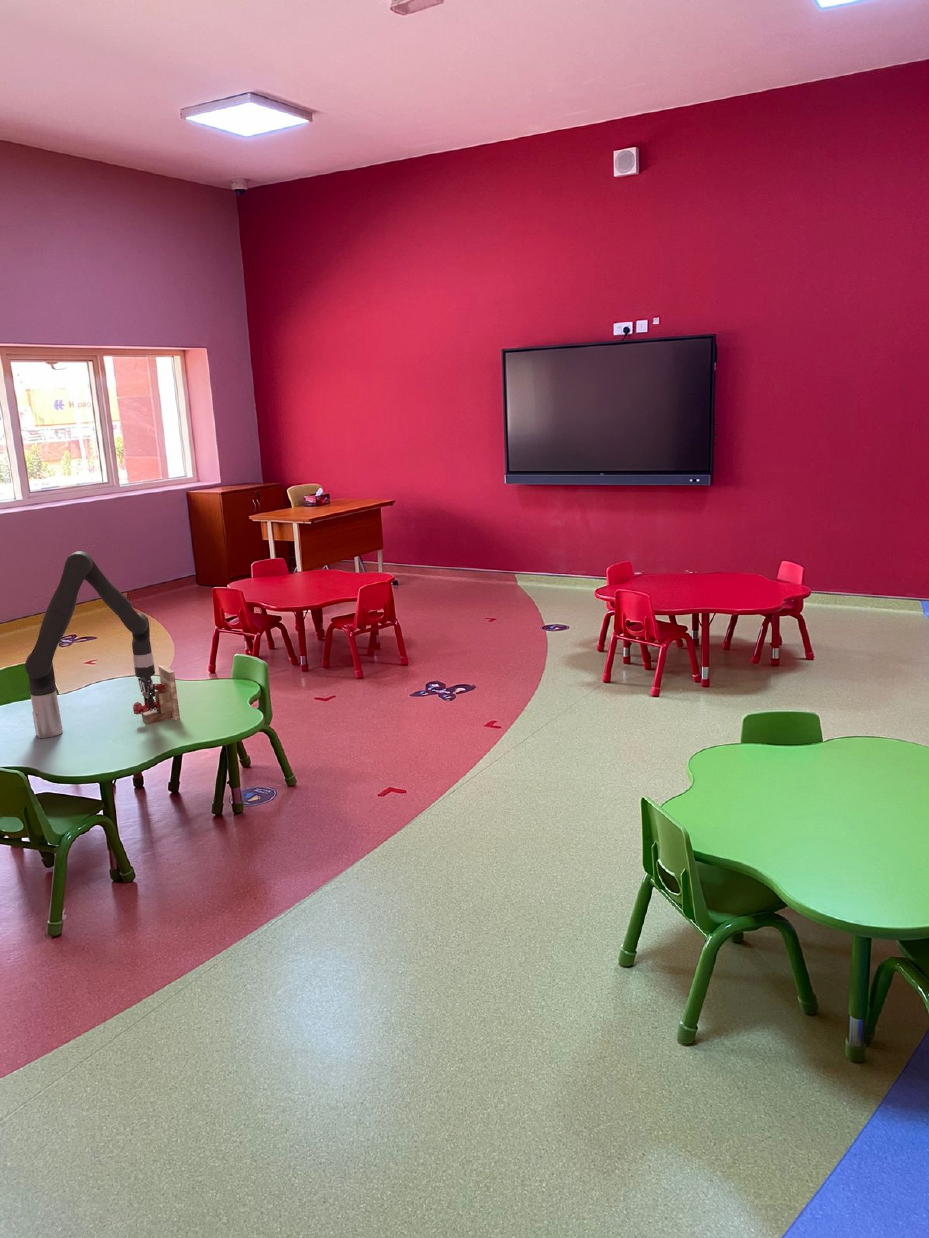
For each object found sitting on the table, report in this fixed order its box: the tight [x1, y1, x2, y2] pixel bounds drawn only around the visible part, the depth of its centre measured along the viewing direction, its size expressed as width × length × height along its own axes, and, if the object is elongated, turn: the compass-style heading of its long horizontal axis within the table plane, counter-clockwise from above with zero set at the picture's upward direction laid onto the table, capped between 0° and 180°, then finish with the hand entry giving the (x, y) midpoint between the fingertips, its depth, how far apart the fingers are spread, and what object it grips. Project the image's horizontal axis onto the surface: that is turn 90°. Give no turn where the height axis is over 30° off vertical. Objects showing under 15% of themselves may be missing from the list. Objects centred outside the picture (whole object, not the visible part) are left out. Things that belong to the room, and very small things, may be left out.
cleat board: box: [141, 664, 181, 725], centre depth 370 cm, size 12×13×20 cm
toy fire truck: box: [132, 683, 165, 715], centre depth 368 cm, size 3×14×10 cm, turn 139°
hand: (149, 704), depth 369 cm, fingers closed on toy fire truck, 3 cm apart
